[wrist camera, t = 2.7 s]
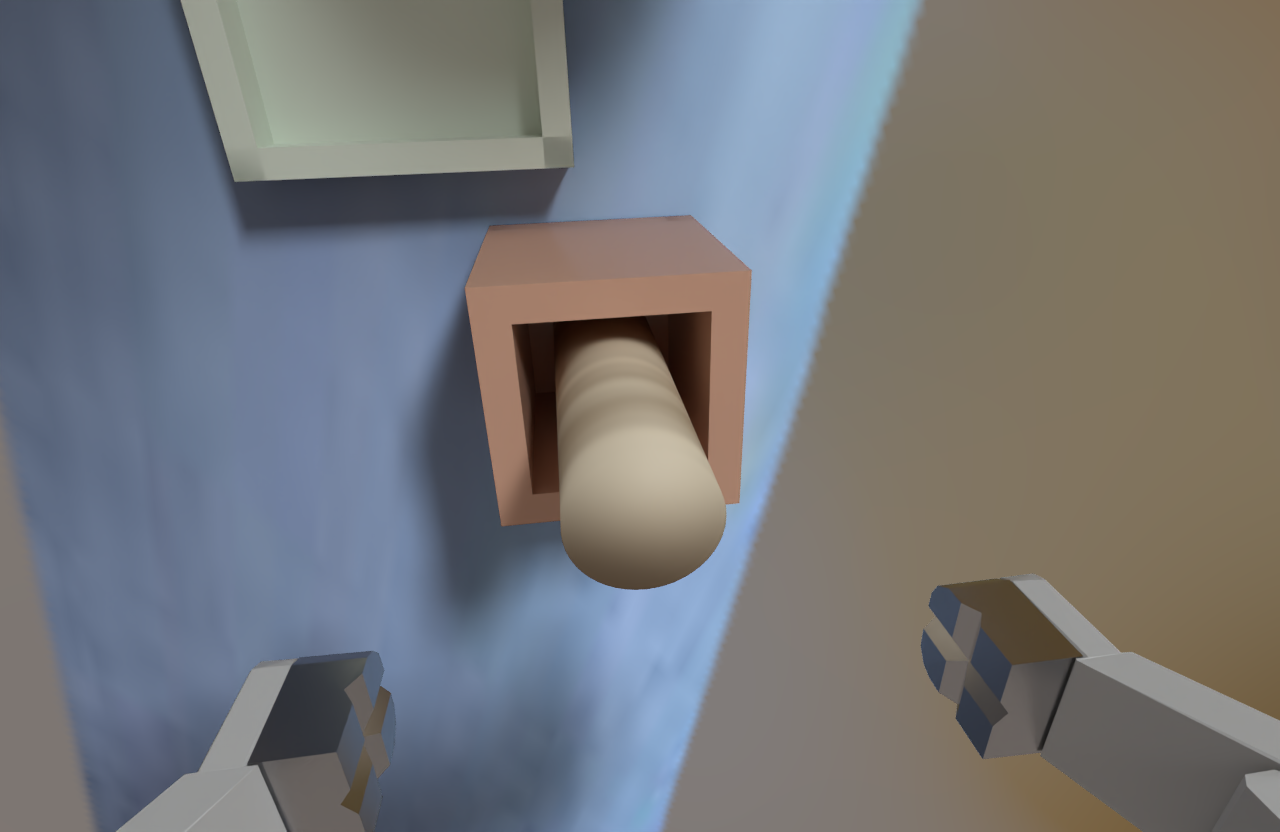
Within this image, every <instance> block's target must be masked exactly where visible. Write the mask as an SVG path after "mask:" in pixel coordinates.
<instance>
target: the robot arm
mask: <svg viewBox="0 0 1280 832" xmlns="http://www.w3.org/2000/svg"><path fill="white" fill-rule="evenodd" d="M929 607H930V609H931V610H932V611H933V612H934V614H935V618H933V619H932V620H931V621H930V623H929V624H928V625H927V626H926V627H925V628H924V629H923V635H922V642H921V650H922V656H923V662H924V666H925V668H926V670H927V673H928V675H929V677H930V679H931V681H932V682H933V684H934V686H935V687H936V689H937V690H938V692H939V693H940V694H942V695H944V696H946V697H947V698H948V699H950V700H952V701H954V702H955V703H957V711H956V719H957V721H958V722H959V724H960V725H961V727H962V728H963V730H964V731H965V733H966V734H967V736H968V738H969V739H970V741H971V742H972V744H973V745H974V747H975V748H976V750H977V751H978V752H979V754H980V756H981V757H982V758H983V759H988V758H997V757H1006V756H1015V755H1024V754H1033V753H1041V757H1043V758H1044V759H1045V760H1047V761H1048V762H1049V763H1051V764H1052V765H1053V766H1055V767H1056V768H1058V769H1059V770H1060V771H1061V772H1063V773H1065V774H1066V775H1067V776H1068V777H1070V778H1071V779H1072V780H1074V781H1075V782H1076V783H1078V784H1079V785H1080V786H1082V787H1083V788H1084V789H1086V790H1087V791H1089V792H1090V793H1091V794H1093V795H1094V796H1095V797H1097V798H1098V799H1099V800H1101V801H1102V802H1103V803H1105V804H1106V805H1108V806H1109V807H1110V808H1112V809H1113V810H1114V811H1116V812H1117V813H1118V814H1120V815H1121V816H1122V817H1124V818H1125V819H1126V820H1128V821H1129V822H1130V823H1132V824H1133V825H1135V826H1136V827H1137V828H1139V829H1140V830H1141V831H1143V832H1280V721H1279V720H1277V719H1275V718H1272V717H1271V716H1268V715H1266V714H1264V713H1262V712H1260V711H1258V710H1255V709H1253V708H1251V707H1249V706H1247V705H1245V704H1243V703H1240V702H1238V701H1236V700H1234V699H1232V698H1230V697H1227V696H1225V695H1223V694H1221V693H1219V692H1217V691H1215V690H1212V689H1210V688H1208V687H1206V686H1204V685H1201V684H1199V683H1197V682H1195V681H1193V680H1191V679H1189V678H1186V677H1184V676H1182V675H1180V674H1178V673H1176V672H1174V671H1171V670H1169V669H1167V668H1165V667H1163V666H1161V665H1158V664H1156V663H1154V662H1152V661H1150V660H1147V659H1146V658H1143V657H1141V656H1139V655H1137V654H1135V653H1133V652H1126V653H1121V652H1120V651H1118V650H1117V648H1115V646H1114V645H1112V644H1111V643H1110V642H1109V641H1108V640H1107V639H1106V638H1105V637H1104V636H1103V635H1102V634H1101V633H1100V632H1099V631H1098V630H1097V629H1096V628H1095V627H1094V626H1093V625H1092V624H1091V623H1090V622H1088V620H1086V619H1085V618H1084V617H1083V616H1082V615H1081V614H1080V613H1079V612H1078V611H1077V610H1076V609H1075V608H1074V607H1073V606H1072V605H1071V604H1070V603H1069V602H1068V601H1067V600H1066V599H1065V598H1064V597H1063V596H1062V595H1061V594H1060V593H1058V592H1057V591H1056V590H1055V589H1054V588H1053V587H1052V586H1051V585H1050V584H1049V583H1048V582H1047V581H1046V580H1045V579H1043V578H1042V577H1040V576H1037V575H1035V574H1026V575H1018V576H1011V577H1003V578H1000V579H989V580H980V581H972V582H964V583H956V584H949V585H940V586H937V588H936V589H935V590H934V591H933V592H932V594H931V598H930V602H929ZM383 674H384V667H383V664H382V661H381V658H380V655H379V653H378V652H375V651H366V652H354V653H343V654H332V655H321V656H310V657H299V658H298V659H286V660H275V661H263V662H260V663H259V664H258V665H257V666H255V667H254V668H253V669H252V670H251V671H250V673H249V675H248V677H247V679H246V681H245V682H244V684H243V686H242V688H241V690H240V692H239V694H238V696H237V698H236V700H235V702H234V703H233V705H232V707H231V709H230V711H229V713H228V715H227V717H226V719H225V721H224V723H223V724H222V726H221V728H220V730H219V732H218V734H217V736H216V738H215V740H214V742H213V744H212V745H211V747H210V749H209V751H208V753H207V755H206V757H205V759H204V761H203V763H202V765H201V766H200V768H199V770H198V772H197V773H190V774H184V775H183V776H182V777H181V778H180V779H178V780H177V781H176V782H175V783H174V784H172V785H171V786H170V787H169V788H168V789H166V790H165V791H164V792H163V793H162V794H160V795H159V796H158V797H157V798H156V799H154V800H153V801H152V802H151V803H150V804H148V805H147V806H146V807H145V808H144V809H142V810H141V811H140V812H139V813H138V814H136V815H135V816H134V817H133V818H132V819H130V820H129V821H128V822H127V823H126V824H124V825H123V826H122V827H121V828H120V829H118V830H117V831H116V832H374V830H375V826H376V822H377V818H378V814H379V810H380V806H381V801H382V797H383V796H382V793H381V789H380V786H379V783H378V780H377V779H378V778H379V777H380V775H381V774H382V773H383V772H384V771H385V770H386V769H387V768H388V767H389V766H390V763H391V759H392V754H393V750H394V745H395V730H396V717H395V708H394V703H393V699H392V695H391V693H390V692H389V691H387V690H386V689H384V688H383V687H381V686H380V684H381V681H382V677H383Z"/></svg>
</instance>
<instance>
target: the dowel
mask: <svg viewBox="0 0 1280 832" xmlns="http://www.w3.org/2000/svg"><path fill="white" fill-rule="evenodd" d="M553 327H554V355H555V383H556V411H557V439H558V467H559V495H560V523H561V537H562V542H563V545H564V548H565V551H566V552H567V554H568V556H569V558H570V559H571V561H572V562H573V563H574V564H575V566H576V567H577V568H578V569H579V570H581V571H582V572H583V573H584V574H586V575H587V576H588V577H590V578H592V579H594V580H595V581H597V582H600V583H602V584H605V585H608V586H611V587H615V588H621V589H632V590H639V589H650V588H656V587H660V586H664V585H667V584H670V583H673V582H675V581H678V580H680V579H682V578H684V577H686V576H687V575H689V574H690V573H692V572H693V571H695V570H696V569H697V568H699V567H700V566H701V565H702V564H703V563H704V562H705V561H706V560H707V559H708V558H709V557H710V556H711V554H712V553H713V552H714V551H715V549H716V547H717V546H718V544H719V542H720V540H721V538H722V535H723V532H724V528H725V524H726V505H725V500H724V497H723V495H722V492H721V490H720V487H719V485H718V483H717V480H716V478H715V476H714V473H713V471H712V469H711V466H710V464H709V462H708V460H707V457H706V455H705V453H704V450H703V448H702V446H701V443H700V441H699V439H698V436H697V434H696V432H695V430H694V427H693V425H692V423H691V420H690V418H689V416H688V413H687V411H686V409H685V407H684V404H683V402H682V400H681V397H680V395H679V393H678V390H677V388H676V386H675V383H674V381H673V379H672V377H671V374H670V372H669V370H668V367H667V365H666V363H665V360H664V358H663V356H662V353H661V351H660V349H659V347H658V344H657V342H656V340H655V337H654V335H653V333H652V330H651V328H650V326H649V323H648V321H647V319H646V317H645V316H631V317H616V318H602V319H587V320H572V321H557V322H553Z"/></svg>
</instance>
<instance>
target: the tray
mask: <svg viewBox="0 0 1280 832" xmlns="http://www.w3.org/2000/svg"><path fill="white" fill-rule="evenodd" d="M181 3H182V7H183V10H184V13H185V17H186V20H187V23H188V27H189V30H190V34H191V37H192V40H193V44H194V47H195V50H196V54H197V57H198V60H199V64H200V67H201V71H202V74H203V77H204V81H205V84H206V87H207V91H208V94H209V97H210V101H211V104H212V108H213V111H214V114H215V118H216V121H217V124H218V128H219V131H220V134H221V138H222V141H223V144H224V148H225V151H226V155H227V158H228V161H229V165H230V168H231V171H232V175H233V178H234V181H235V182H243V181H266V180H290V179H313V178H336V177H359V176H382V175H405V174H429V173H452V172H475V171H498V170H521V169H545V168H568V167H574V159H573V144H572V129H571V115H570V100H569V86H568V71H567V57H566V42H565V28H564V13H563V0H181Z"/></svg>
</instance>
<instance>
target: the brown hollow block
mask: <svg viewBox="0 0 1280 832" xmlns="http://www.w3.org/2000/svg"><path fill="white" fill-rule="evenodd" d="M751 272H752V270H751V269H749V268H748V267H747V266H746V265H745V264H744V263H743V262H742V261H741V260H740V259H738V258H737V257H736V256H735V255H734V254H733V253H732V252H731V251H730V250H729V249H727V248H726V247H725V246H724V245H723V244H722V243H721V242H720V241H719V240H718V239H716V238H715V237H714V236H713V235H712V234H711V233H710V232H709V231H708V230H707V229H705V228H704V227H703V226H702V225H701V224H700V223H699V222H698V221H697V220H696V219H694V218H693V217H692V216H691V215H687V216H668V217H648V218H629V219H610V220H590V221H571V222H551V223H532V224H513V225H493V226H489V229H488V231H487V234H486V236H485V239H484V241H483V244H482V246H481V249H480V251H479V254H478V256H477V259H476V261H475V264H474V266H473V269H472V271H471V274H470V276H469V279H468V281H467V284H466V286H465V292H466V299H467V305H468V312H469V318H470V325H471V331H472V338H473V344H474V351H475V357H476V364H477V370H478V377H479V383H480V390H481V396H482V403H483V409H484V416H485V422H486V429H487V435H488V442H489V448H490V455H491V461H492V468H493V474H494V481H495V487H496V494H497V500H498V507H499V513H500V520H501V526H510V525H521V524H531V523H541V522H551V521H560V495H559V467H558V439H557V411H556V383H555V355H554V327H553V322H557V321H572V320H587V319H602V318H616V317H631V316H645V317H646V319H647V321H648V323H649V326H650V328H651V330H652V333H653V335H654V337H655V340H656V342H657V344H658V347H659V349H660V351H661V353H662V356H663V358H664V360H665V363H666V365H667V367H668V370H669V372H670V374H671V377H672V379H673V381H674V383H675V386H676V388H677V390H678V393H679V395H680V397H681V400H682V402H683V404H684V407H685V409H686V411H687V413H688V416H689V418H690V420H691V423H692V425H693V427H694V430H695V432H696V434H697V436H698V439H699V441H700V443H701V446H702V448H703V450H704V453H705V455H706V457H707V460H708V462H709V464H710V466H711V469H712V471H713V473H714V476H715V478H716V480H717V483H718V485H719V487H720V490H721V492H722V495H723V497H724V500H725V504H735V503H739V499H740V480H741V462H742V443H743V424H744V405H745V386H746V367H747V348H748V329H749V310H750V291H751Z"/></svg>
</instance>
